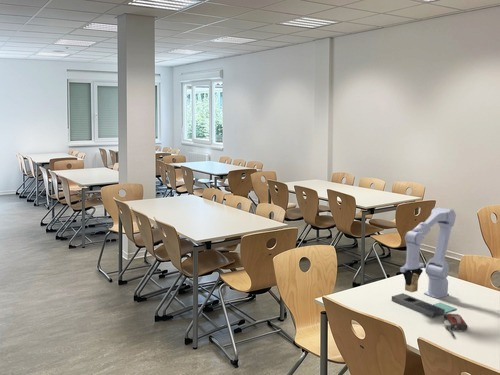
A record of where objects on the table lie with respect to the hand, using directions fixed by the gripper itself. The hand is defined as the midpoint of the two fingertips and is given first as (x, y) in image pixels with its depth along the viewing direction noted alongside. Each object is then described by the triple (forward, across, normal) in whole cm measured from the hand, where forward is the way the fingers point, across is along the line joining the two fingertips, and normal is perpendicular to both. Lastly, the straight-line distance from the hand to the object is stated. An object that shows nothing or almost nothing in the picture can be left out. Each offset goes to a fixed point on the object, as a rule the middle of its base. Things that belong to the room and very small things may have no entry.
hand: (411, 284), depth 231 cm
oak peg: (+3, 0, 0) cm, 3 cm away
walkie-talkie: (+11, +5, +28) cm, 30 cm away
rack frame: (+10, 0, +4) cm, 11 cm away
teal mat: (+10, -9, +11) cm, 17 cm away
